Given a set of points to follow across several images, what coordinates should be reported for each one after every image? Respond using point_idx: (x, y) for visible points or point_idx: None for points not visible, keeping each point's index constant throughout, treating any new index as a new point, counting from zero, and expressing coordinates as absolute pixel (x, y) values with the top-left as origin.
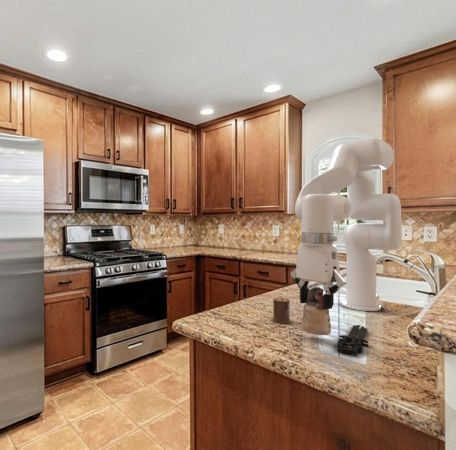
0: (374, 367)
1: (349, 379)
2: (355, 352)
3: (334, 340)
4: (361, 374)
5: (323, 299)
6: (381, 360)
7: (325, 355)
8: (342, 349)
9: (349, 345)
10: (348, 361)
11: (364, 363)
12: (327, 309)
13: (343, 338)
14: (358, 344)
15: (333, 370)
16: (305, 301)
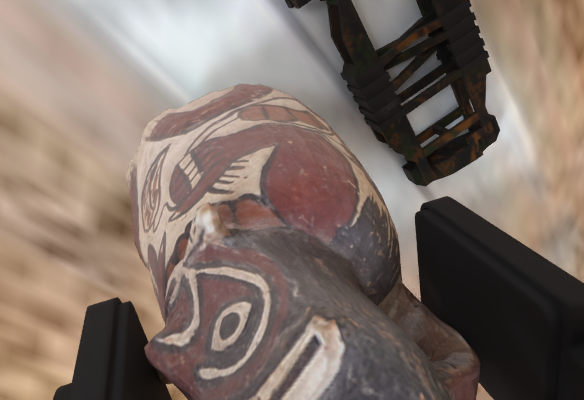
0: (571, 147)
1: None
2: (494, 140)
3: (275, 43)
4: (568, 248)
5: (492, 391)
6: (561, 38)
7: (409, 264)
8: (443, 176)
9: (432, 92)
10: (491, 209)
11: (534, 155)
12: (391, 221)
13: (352, 33)
14: (458, 31)
15: None
16: (168, 383)
